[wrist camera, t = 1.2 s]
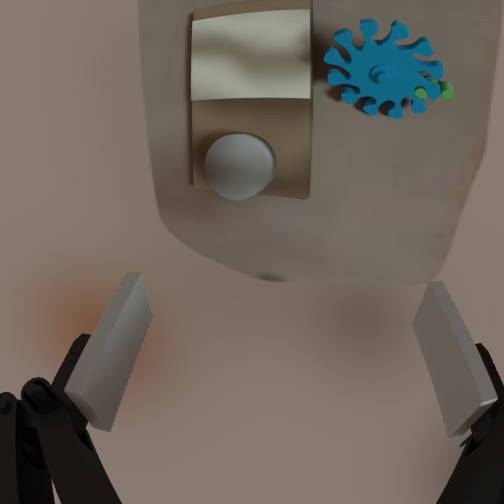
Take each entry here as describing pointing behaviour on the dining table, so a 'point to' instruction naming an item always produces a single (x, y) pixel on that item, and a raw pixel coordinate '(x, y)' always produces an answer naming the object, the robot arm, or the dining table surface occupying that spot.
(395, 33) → the gear
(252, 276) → the dining table surface
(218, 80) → the wooden board
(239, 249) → the dining table surface
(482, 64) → the dining table surface
